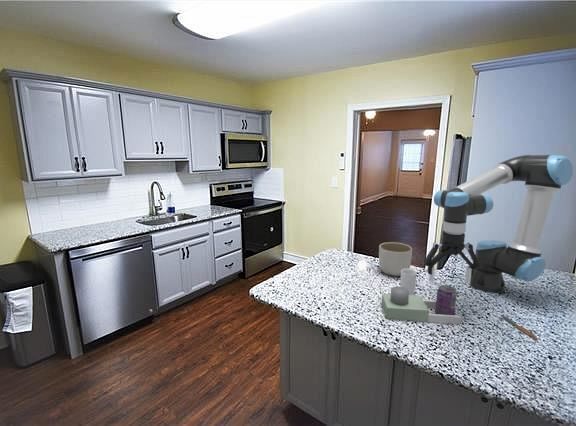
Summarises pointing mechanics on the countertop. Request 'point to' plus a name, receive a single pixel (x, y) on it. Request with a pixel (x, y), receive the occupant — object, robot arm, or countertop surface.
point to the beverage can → (446, 300)
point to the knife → (521, 328)
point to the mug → (408, 280)
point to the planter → (394, 257)
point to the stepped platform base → (412, 308)
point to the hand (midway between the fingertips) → (449, 282)
